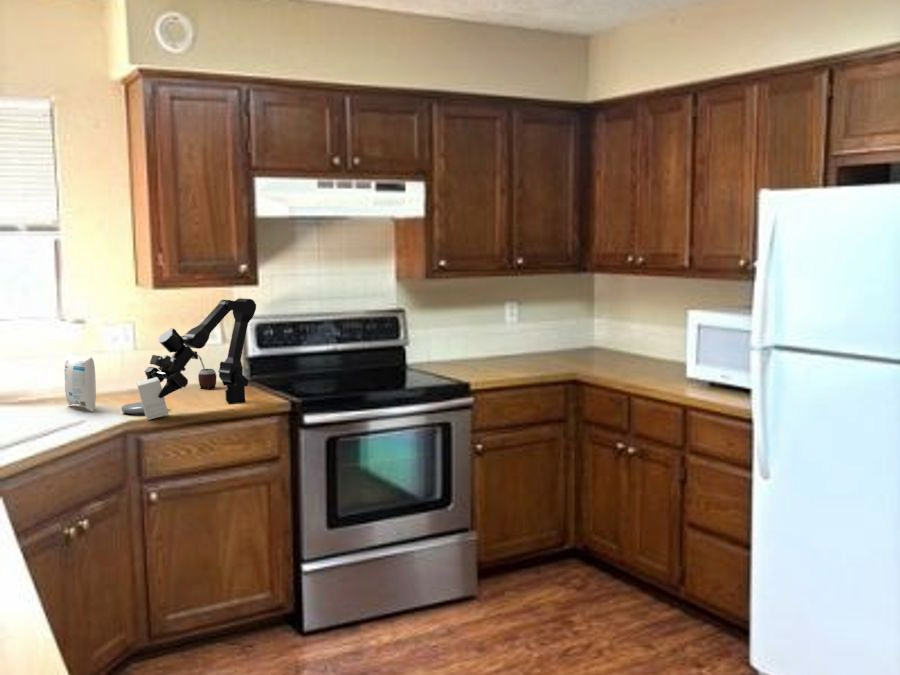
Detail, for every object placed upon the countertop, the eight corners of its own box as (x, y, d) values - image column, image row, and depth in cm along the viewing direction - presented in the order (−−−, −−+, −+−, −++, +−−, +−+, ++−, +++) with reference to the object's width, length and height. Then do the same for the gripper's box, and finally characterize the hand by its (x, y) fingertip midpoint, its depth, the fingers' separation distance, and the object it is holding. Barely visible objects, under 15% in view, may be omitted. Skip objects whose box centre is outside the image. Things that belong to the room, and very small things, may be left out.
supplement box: (166, 410, 314) (157, 376, 311) (168, 414, 307) (159, 379, 305) (145, 416, 311) (136, 381, 309) (146, 420, 305) (137, 385, 302)
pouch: (81, 413, 318) (77, 358, 315) (60, 406, 331) (57, 353, 329) (103, 410, 323) (99, 355, 321) (82, 403, 337) (79, 351, 334)
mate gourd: (217, 389, 363) (216, 353, 361) (197, 391, 360) (196, 354, 358) (215, 386, 370) (213, 350, 368) (195, 388, 367) (194, 352, 365)
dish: (164, 406, 330) (164, 400, 329) (167, 413, 316) (167, 407, 315) (121, 409, 324) (121, 403, 324) (122, 417, 310) (122, 411, 310)
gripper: (148, 344, 316) (121, 378, 308) (179, 348, 304) (151, 384, 297) (168, 364, 322) (142, 398, 315) (199, 369, 311) (173, 404, 303)
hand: (151, 395), depth 307 cm, fingers closed on supplement box, 9 cm apart
